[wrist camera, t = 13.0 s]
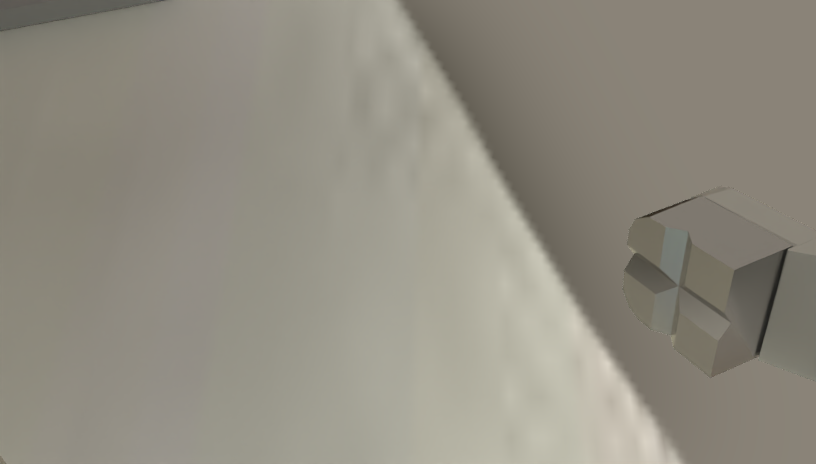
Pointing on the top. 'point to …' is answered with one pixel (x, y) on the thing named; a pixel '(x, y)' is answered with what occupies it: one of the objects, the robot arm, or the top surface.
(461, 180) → the top surface
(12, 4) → the coaster
